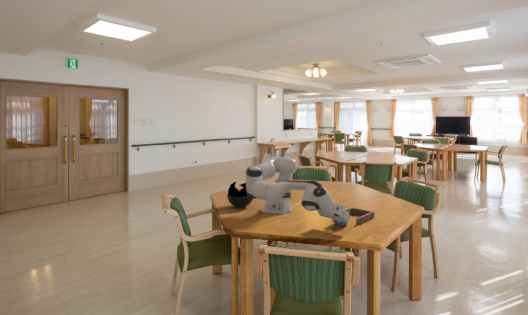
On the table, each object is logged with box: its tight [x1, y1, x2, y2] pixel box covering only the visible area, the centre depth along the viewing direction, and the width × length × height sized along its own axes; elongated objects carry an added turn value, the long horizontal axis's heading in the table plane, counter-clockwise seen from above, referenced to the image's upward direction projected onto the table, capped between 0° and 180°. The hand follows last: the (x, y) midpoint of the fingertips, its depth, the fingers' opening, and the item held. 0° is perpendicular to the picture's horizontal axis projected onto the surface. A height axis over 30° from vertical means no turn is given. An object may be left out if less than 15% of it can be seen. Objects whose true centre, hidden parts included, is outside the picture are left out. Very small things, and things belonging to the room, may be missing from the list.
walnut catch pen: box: [346, 207, 375, 226], centre depth 216 cm, size 22×16×4 cm
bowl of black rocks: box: [226, 181, 254, 209], centre depth 245 cm, size 20×20×19 cm
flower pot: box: [332, 209, 351, 227], centre depth 203 cm, size 9×9×9 cm
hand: (337, 221), depth 198 cm, fingers closed
